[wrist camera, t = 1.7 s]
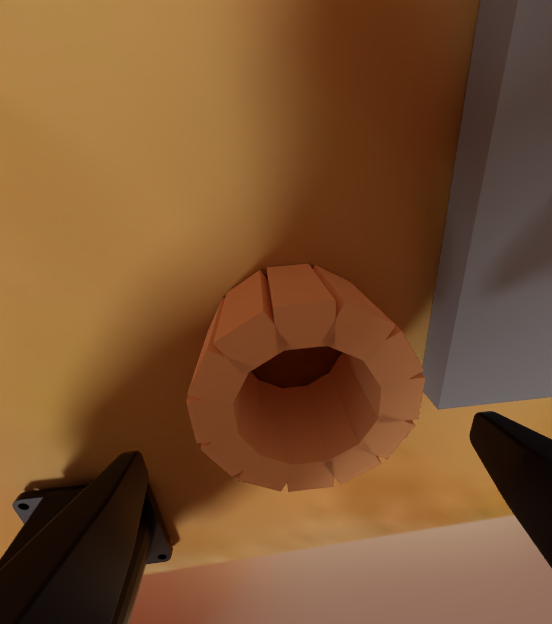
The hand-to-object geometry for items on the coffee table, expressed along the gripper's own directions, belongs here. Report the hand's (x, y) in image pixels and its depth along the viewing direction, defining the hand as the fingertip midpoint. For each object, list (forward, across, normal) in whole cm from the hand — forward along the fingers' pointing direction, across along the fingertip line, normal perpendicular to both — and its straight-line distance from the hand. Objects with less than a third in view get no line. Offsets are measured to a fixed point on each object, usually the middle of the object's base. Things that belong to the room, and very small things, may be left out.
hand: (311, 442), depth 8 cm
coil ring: (+5, 0, 0) cm, 5 cm away
